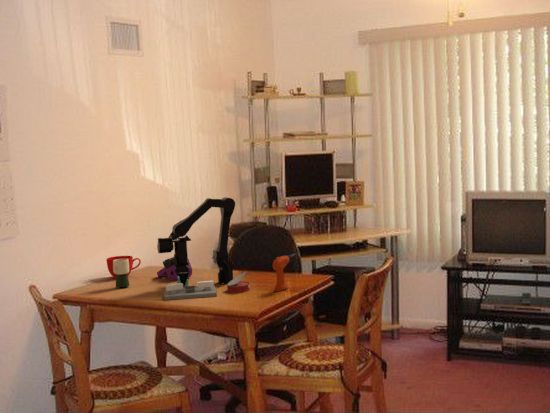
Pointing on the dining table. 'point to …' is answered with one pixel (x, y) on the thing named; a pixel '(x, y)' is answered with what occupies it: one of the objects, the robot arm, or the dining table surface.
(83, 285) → the dining table surface
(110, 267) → the ceramic cup
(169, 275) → the mounting bracket
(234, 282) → the canned food
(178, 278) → the block
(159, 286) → the dining table surface
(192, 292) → the plate
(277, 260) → the toy drill
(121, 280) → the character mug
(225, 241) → the robot arm
